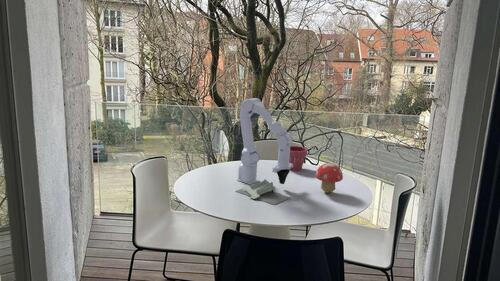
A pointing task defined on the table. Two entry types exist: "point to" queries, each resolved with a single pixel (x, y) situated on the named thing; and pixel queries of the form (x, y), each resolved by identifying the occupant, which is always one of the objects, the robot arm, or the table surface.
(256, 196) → the metal bracket
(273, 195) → the rubber mat
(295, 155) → the plant pot
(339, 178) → the decorative mushroom
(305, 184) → the table surface
